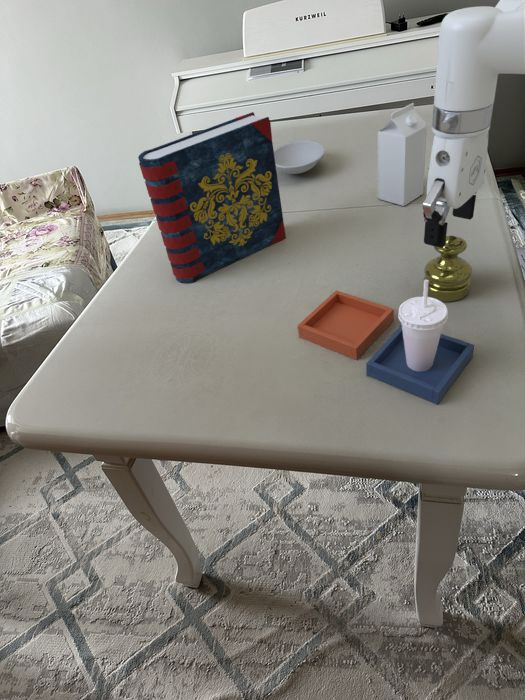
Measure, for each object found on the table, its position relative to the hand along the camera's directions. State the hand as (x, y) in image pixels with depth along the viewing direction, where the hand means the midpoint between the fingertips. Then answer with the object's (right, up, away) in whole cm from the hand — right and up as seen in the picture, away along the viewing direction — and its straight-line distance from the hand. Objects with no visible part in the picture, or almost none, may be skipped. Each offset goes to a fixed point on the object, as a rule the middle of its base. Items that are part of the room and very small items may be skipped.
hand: (448, 230), depth 81 cm
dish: (-20, +28, +54) cm, 64 cm away
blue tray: (-6, -21, -5) cm, 23 cm away
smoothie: (-6, -21, -5) cm, 22 cm away
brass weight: (+2, -9, +7) cm, 12 cm away
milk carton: (+2, +16, +35) cm, 39 cm away
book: (-36, +1, +27) cm, 45 cm away
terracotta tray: (-16, -15, +4) cm, 22 cm away
